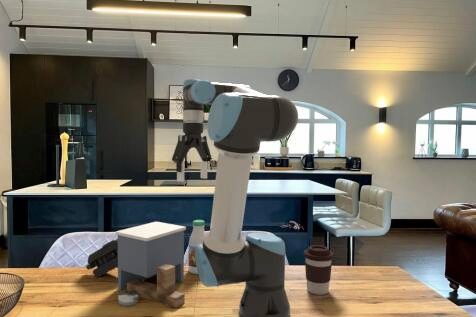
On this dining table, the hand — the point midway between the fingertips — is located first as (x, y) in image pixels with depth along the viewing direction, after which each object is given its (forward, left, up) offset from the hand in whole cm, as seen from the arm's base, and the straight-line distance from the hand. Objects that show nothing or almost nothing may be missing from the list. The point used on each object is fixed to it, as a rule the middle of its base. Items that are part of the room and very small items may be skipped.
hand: (192, 179), depth 133 cm
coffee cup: (-44, -14, -37) cm, 59 cm away
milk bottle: (+2, -6, -37) cm, 38 cm away
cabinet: (+7, +14, -37) cm, 40 cm away
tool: (+26, +16, -37) cm, 48 cm away
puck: (+3, +28, -37) cm, 46 cm away
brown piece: (-1, +20, -37) cm, 42 cm away
